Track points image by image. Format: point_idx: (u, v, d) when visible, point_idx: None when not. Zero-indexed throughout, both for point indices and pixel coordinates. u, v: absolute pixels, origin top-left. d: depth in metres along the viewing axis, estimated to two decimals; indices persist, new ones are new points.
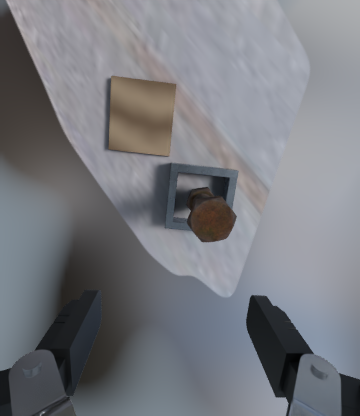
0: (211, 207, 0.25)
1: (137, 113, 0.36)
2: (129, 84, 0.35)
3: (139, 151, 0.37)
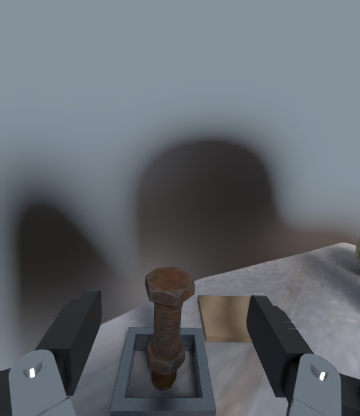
0: (183, 276, 0.26)
1: (234, 311, 0.41)
2: None
3: (203, 313, 0.40)
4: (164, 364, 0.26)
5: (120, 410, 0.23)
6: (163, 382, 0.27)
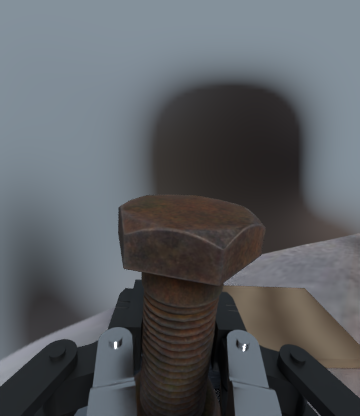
0: (226, 208, 0.09)
1: (284, 311, 0.24)
2: (311, 302, 0.26)
3: None
4: None
5: None
6: None
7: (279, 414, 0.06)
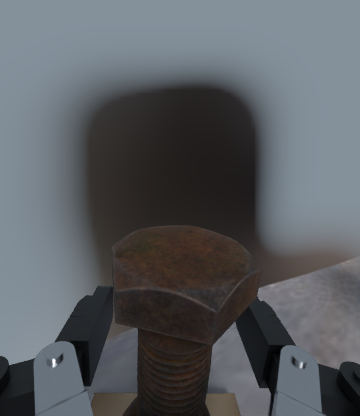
0: (221, 246, 0.09)
1: None
2: None
3: None
4: None
5: None
6: None
7: None
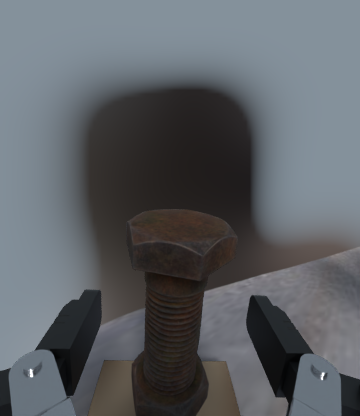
0: (209, 221, 0.12)
1: None
2: (223, 394, 0.18)
3: None
4: (166, 412, 0.12)
5: None
6: None
7: None
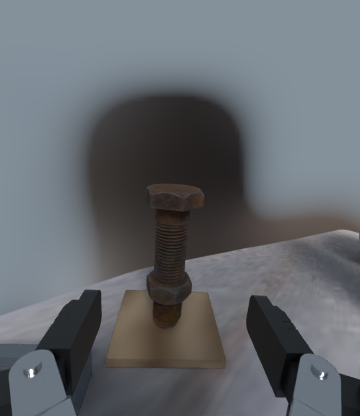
0: (190, 188, 0.22)
1: None
2: (204, 306, 0.28)
3: (119, 318, 0.25)
4: (167, 291, 0.22)
5: None
6: (166, 317, 0.23)
7: None
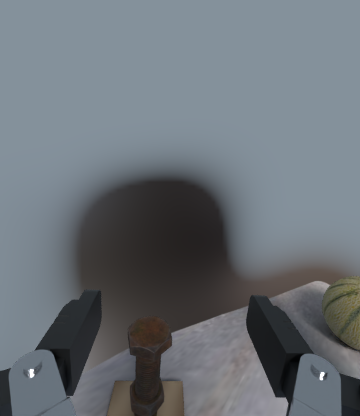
0: (162, 328, 0.28)
1: None
2: (177, 399, 0.34)
3: None
4: (144, 408, 0.28)
5: None
6: None
7: None
